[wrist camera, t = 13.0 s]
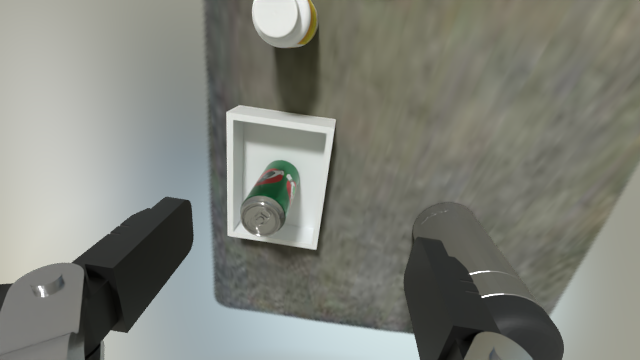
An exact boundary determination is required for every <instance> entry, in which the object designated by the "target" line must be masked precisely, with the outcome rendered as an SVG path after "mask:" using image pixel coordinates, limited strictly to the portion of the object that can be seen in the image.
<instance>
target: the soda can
mask: <svg viewBox="0 0 640 360" xmlns="http://www.w3.org/2000/svg"><path fill="white" fill-rule="evenodd" d="M298 183H299V173H298V170H297V169H296V167H295V166H294V165H293V164H291V163H290V162H287V161H284V160H276V161H273V162H271V163H270V164H269V165H268V166H267V167H266V168H265V170H264V172H263V173H262V175H261V176H260V178H259V179H258V181H257V182H256V184H255V185H254V187H253V188H252V190H251V191H250V193H249V194H248V196H247V197H246V199H245V200H244V202H243V203H242V205H241V209H240V214H241V223H242V225H243V227H244V228H245V229H246V230H247V231H248V232H249V233H251V234H253V235H255V236H259V237H267V236H270V235H273V234H274V233H275V232H277V231H278V230H280V229H281V228H282V226H283V225H284V223H285V220H286V217H287V214H288V212H289V209H290V206H291V203H292V200H293V197H294V195H295V192H296V189H297V186H298Z"/></svg>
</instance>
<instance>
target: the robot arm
mask: <svg viewBox="0 0 640 360" xmlns="http://www.w3.org/2000/svg"><path fill="white" fill-rule="evenodd" d="M413 237H414V240H415V242H414V245H413V248H412V251H411V254H410V257H409V260H408V263H407V266H406V270H405V274H404V291H405V295H406V299H407V304H408V308H409V313H410V317H411V321H412V326H413V330H414V335H415V339H416V343H417V348H418V352H419V357H420V360H562V357H563V353H564V344H563V340H562V337H561V335H560V332H559V331H558V329H557V327H556V326H555V324H554V323H553V321H552V320H551V319H550V317H549V316H548V315H547V313H546V312H545V311H544V309H543V308H542V307H541V305H540V304H539V303H538V301H537V300H536V299H535V297H534V296H533V295H532V293H531V292H530V290H529V289H528V288H527V286H526V285H525V284H524V283H523V281H522V280H521V278H520V277H519V276H518V274H517V273H516V272H515V270H514V269H513V268H512V266H511V265H510V263H509V262H508V261H507V259H506V258H505V257H504V255H503V254H502V252H501V251H500V250H499V248H498V247H497V246H496V244H495V243H494V242H493V240H492V239H491V237H490V236H489V235H488V233H487V232H486V231H485V229H484V228H483V226H482V225H481V224H480V222H479V221H478V220H477V218H476V217H475V215H474V214H473V213H472V212H471V211H470V210H469V209H468V208H466V207H465V206H462V205H460V204H456V203H441V204H437V205H434V206H431V207H429V208H428V209H426V210H425V211H423V212H422V213H421V214H420V215H419V216H418V218H417V219H416V221H415V223H414V226H413ZM192 243H193V222H192V208H191V203H190V201H189V200H184V199H178V198H171V197H165V198H163V199H162V200H161V201H160V202H159V203H157V204H156V205H155V206H154V207H152V208H151V209H150V208H147V209H145V210H143V211H140V212H138V213H136V214H134V215H132V216H130V217H129V218H128V219H127V220H125V221H124V222H123V223H122V224H121V225H120V226H118V227H116V228H115V229H114V230H113V231H111V233H110V234H108V235H106V236H105V237H104V238H103V239H101V240H100V241H99V242H97V243H96V244H95V245H93V246H92V247H91V248H90V249H88V250H87V251H86V252H85V253H83V254H82V255H81V256H79V257H78V258H77V259H76V260H74V261H73V262H72V263H57V264H51V265H47V266H44V267H41V268H38V269H36V270H33V271H31V272H29V273H27V274H26V275H24V276H22V277H21V278H19V279H18V280H17V281H16V282H15V283H12V284H0V360H104V341H103V339H104V337H105V336H106V335H107V334H108V333H109V331H110V330H113V331H119V332H125V333H128V331H129V330H130V329H131V327H132V326H133V325H134V323H135V322H136V321H137V320H138V318H139V317H140V315H141V314H142V313H143V312H144V311H145V309H146V307H148V305H149V304H150V303H151V301H152V300H153V299H154V298H155V296H156V295H157V294H158V292H159V291H160V290H161V288H162V287H163V286H164V285H165V283H166V282H167V281H168V279H169V278H170V276H171V275H172V274H173V273H174V272H175V270H176V269H177V268H178V266H179V265H180V264H181V262H182V261H183V260H184V259H185V257H186V256H187V255H188V253H189V251H190V250H191V247H192Z"/></svg>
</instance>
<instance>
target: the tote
mask: <svg viewBox="0 0 640 360" xmlns="http://www.w3.org/2000/svg"><path fill="white" fill-rule="evenodd" d="M335 123H336V119H330V118H323V117H317V116H310V115H303V114H296V113H289V112H282V111H276V110H269V109H262V108H255V107H248V106H241V105H239V106H237V107H235V108H233V109H231V110H230V111H228V112H227V211H228V236H232V237H239V238H245V239H251V240H257V241H264V242H270V243H276V244H283V245H289V246H295V247H302V248H308V249H314V250H316V249H317V243H318V236H319V230H320V223H321V217H322V210H323V203H324V197H325V190H326V183H327V177H328V170H329V163H330V157H331V150H332V143H333V137H334V130H335ZM276 160H284V161H287V162H290V163H291V164H293V165H294V166H295V167H296V169H297V170H298V173H299V183H298V186H297V189H296V192H295V195H294V197H293V200H292V203H291V206H290V209H289V212H288V214H287V217H286V220H285V223H284V225H283V226H282V228H281V229H280V230H278V231H277V232H275V233H274V234H273V235H270V236H267V237H259V236H255V235H253V234H251V233H249V232H248V231H247V230H246V229H245V228H244V227H243V225H242V223H241V214H240V209H241V205H242V203H243V202H244V200H245V199H246V197H247V196H248V194H249V193H250V191H251V190H252V188H253V187H254V185H255V184H256V182H257V181H258V179H259V178H260V176H261V175H262V173H263V172H264V170H265V168H266V167H267V166H268V165H269V164H270V163H271V162H273V161H276Z"/></svg>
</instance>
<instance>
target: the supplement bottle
mask: <svg viewBox="0 0 640 360" xmlns="http://www.w3.org/2000/svg"><path fill="white" fill-rule="evenodd" d="M252 18H253V23H254V26H255V29H256V31H257V32H258V34H259V35H260V37H261V38H262V39H263V40H264V41H265V42H267V43H268V44H270V45H272V46H275V47H278V48H295V47H301V46H303V45H305V44H307V43H308V42H310V41H311V39H312V38H313V37H314V35H315V33H316V31H317V27H318V15H317V11H316V8H315V6H314V5H313V3H312V2H311V1H310V0H254V2H253V7H252Z"/></svg>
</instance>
